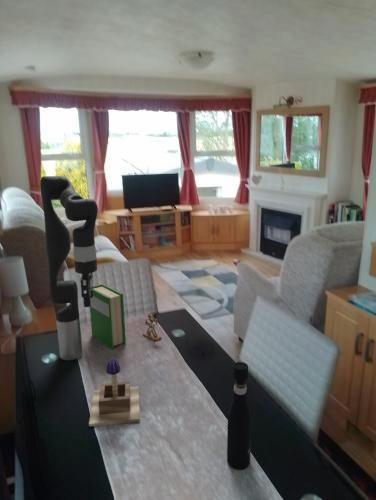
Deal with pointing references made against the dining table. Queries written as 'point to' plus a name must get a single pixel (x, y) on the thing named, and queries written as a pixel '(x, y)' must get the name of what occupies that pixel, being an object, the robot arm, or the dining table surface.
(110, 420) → the socket board
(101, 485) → the dining table surface
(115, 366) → the toy lamp
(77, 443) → the dining table surface
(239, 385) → the wine bottle
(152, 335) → the openwork figure ornament
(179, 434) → the dining table surface
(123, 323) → the hardback book
